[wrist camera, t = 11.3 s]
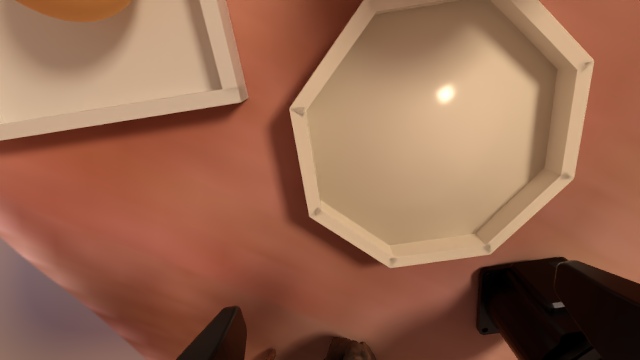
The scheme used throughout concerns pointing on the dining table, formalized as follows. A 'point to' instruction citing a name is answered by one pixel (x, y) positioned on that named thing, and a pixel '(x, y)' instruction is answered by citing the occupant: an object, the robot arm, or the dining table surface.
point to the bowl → (440, 125)
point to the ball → (77, 8)
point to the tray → (115, 65)
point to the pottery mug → (343, 350)
